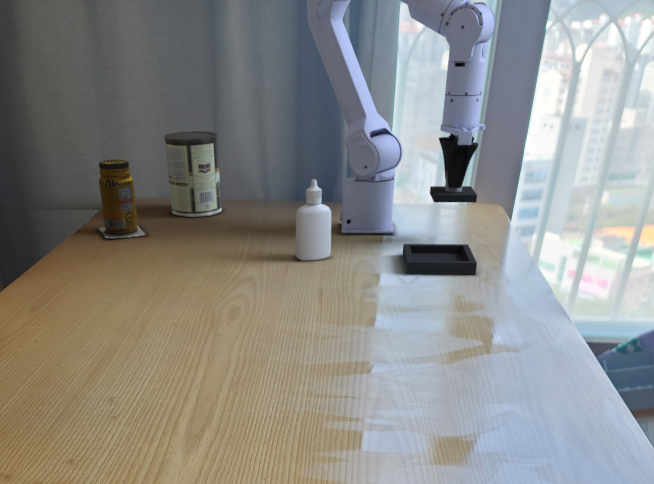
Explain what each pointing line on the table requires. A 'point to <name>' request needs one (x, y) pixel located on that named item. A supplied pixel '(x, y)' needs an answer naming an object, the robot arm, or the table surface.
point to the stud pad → (452, 194)
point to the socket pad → (439, 259)
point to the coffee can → (193, 173)
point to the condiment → (118, 200)
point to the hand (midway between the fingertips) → (453, 185)
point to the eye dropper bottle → (313, 227)
